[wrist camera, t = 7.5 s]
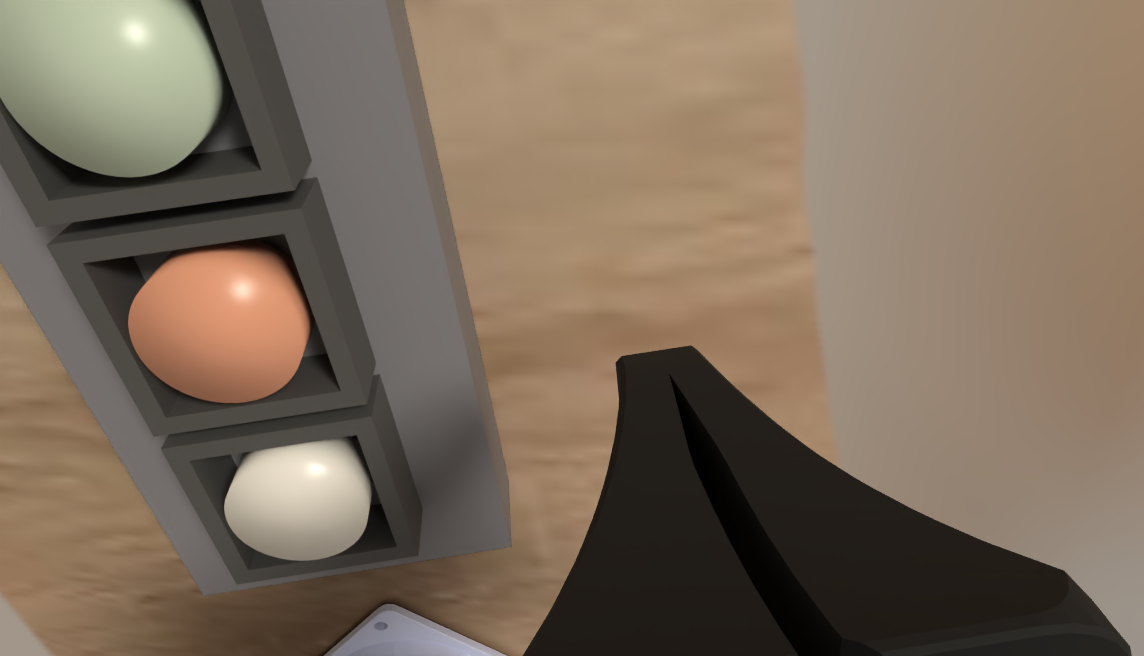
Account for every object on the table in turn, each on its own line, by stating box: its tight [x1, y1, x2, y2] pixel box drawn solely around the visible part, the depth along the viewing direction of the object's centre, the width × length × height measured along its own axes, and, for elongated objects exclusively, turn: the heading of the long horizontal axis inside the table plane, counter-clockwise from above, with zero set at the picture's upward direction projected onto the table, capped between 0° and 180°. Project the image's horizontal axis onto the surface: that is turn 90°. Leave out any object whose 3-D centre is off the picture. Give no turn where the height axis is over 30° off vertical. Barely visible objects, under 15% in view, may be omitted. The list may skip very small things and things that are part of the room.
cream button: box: [224, 436, 374, 561], centre depth 20 cm, size 4×4×2 cm
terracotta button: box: [128, 239, 315, 403], centre depth 17 cm, size 4×4×2 cm
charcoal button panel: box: [0, 0, 512, 596], centre depth 18 cm, size 21×10×5 cm, turn 6°
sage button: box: [0, 0, 232, 177], centre depth 14 cm, size 4×4×2 cm
